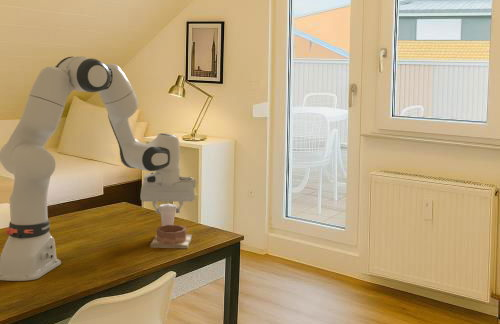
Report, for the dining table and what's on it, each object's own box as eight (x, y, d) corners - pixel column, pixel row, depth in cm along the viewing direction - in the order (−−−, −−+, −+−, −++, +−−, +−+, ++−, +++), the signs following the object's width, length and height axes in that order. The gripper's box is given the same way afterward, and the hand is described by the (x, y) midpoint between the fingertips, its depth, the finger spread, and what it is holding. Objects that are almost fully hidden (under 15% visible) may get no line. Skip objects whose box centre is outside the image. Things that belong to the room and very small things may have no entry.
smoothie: (178, 228, 235) (178, 193, 233) (173, 233, 229) (173, 196, 227) (162, 227, 236) (162, 192, 234) (156, 232, 230) (156, 195, 228)
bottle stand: (187, 248, 214) (187, 234, 214) (150, 247, 215) (150, 233, 214) (191, 237, 227) (191, 224, 226) (156, 236, 228) (156, 223, 227)
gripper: (195, 175, 233) (195, 210, 235) (141, 174, 231) (141, 210, 234) (195, 178, 227) (195, 214, 229) (139, 178, 225) (140, 214, 227)
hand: (167, 212), depth 231 cm, fingers closed on smoothie, 6 cm apart
